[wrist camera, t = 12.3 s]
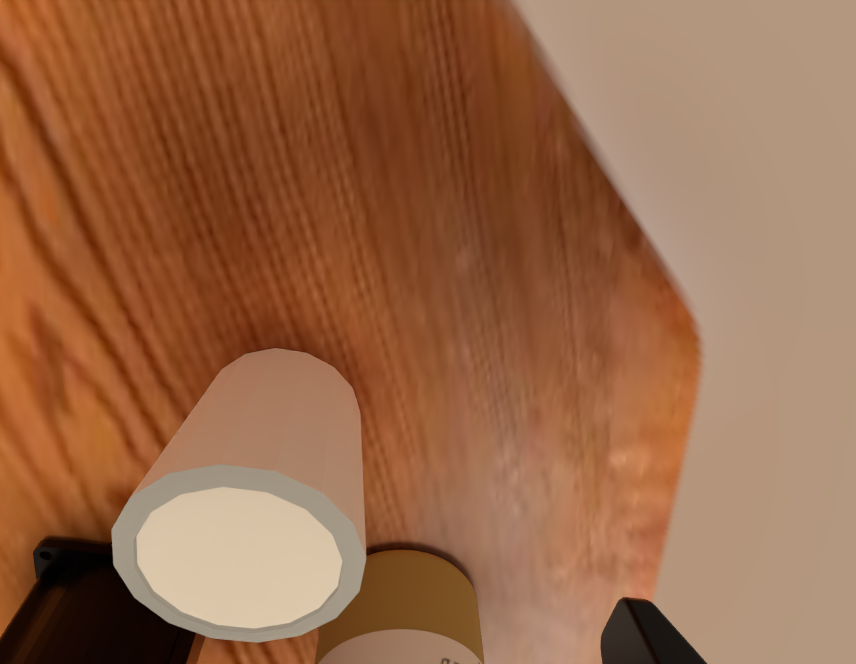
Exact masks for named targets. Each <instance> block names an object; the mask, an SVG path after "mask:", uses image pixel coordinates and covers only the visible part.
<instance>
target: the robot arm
mask: <svg viewBox="0 0 856 664" xmlns="http://www.w3.org/2000/svg"><path fill="white" fill-rule="evenodd" d="M33 556H34V564H35V571H36V579H37V581H36V583H35V584H34V586H33V587H32V589H31V590H30V592H29V593H28V595H27V597H26V598H25V600H24V601H23V603H22V604H21V606H20V608H19V609H18V611H17V612H16V614H15V615H14V617H13V619H12V620H11V622H10V623H9V625H8V626H7V628H6V630H5V631H4V633H3V634H2V636H1V637H0V664H197V661H198V658H199V655H200V651H201V648H202V645H203V642H204V638H205V636H204V635H201V634H198V633H196V632H193V631H190V630H187V629H184V628H182V627H179V626H176V625H173V624H171V623H168V622H167V621H166V620H164V619H163V618H161V617H160V616H159V615H157V614H156V613H155V612H153V611H152V610H150V609H149V608H148V607H146V606H145V605H144V604H142V603H141V602H139V601H138V600H137V599H135V598H134V597H133V595H132V593H131V592H130V590H129V589H128V587H127V586H126V584H125V582H124V581H123V579H122V578H121V576H120V575H119V573H118V571H117V570H116V568H115V567H114V565H113V549H112V546H104V545H95V544H86V543H78V542H69V541H60V540H51V539H45V540H42V541H41V542H40V543H39V544H38V545H37V547H36V548H35V550H34V552H33ZM601 656H602V663H603V664H707V663H706V662H705V661H704V659H703V658H702V657H701V656H700V655H699V654H698V653H697V652H696V650H695V649H694V648H693V647H692V646H691V645H690V644H689V643H688V642H687V640H686V639H685V638H684V637H683V636H682V635H681V634H680V633H679V632H678V631H677V629H676V628H675V627H674V626H673V625H672V624H671V623H670V621H669V620H668V619H667V618H666V617H665V616H664V615H663V614H662V613H661V611H660V610H659V609H658V608H657V607H656V606H655V605H654V604H653V603H652V602H650V601H648V600H645V599H638V598H629V597H623V598H622V599H620V600H619V601H618V602H617V604H616V606H615V608H614V610H613V612H612V614H611V616H610V618H609V620H608V622H607V624H606V626H605V628H604V630H603V633H602V636H601Z"/></svg>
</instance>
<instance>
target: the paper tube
mask: <svg viewBox="0 0 856 664" xmlns="http://www.w3.org/2000/svg"><path fill="white" fill-rule="evenodd" d="M315 664H484V656H483V648H482V639H481V630H480V622H479V613H478V605H477V599H476V595H475V592H474V589H473V587H472V585H471V583H470V582H469V580H468V579H467V578H466V577H465V576H464V575H463V574H462V573H461V572H460V571H459V570H458V569H457V568H456V567H455V566H454V565H452V564H451V563H449V562H448V561H446V560H444V559H442V558H440V557H438V556H435V555H433V554H429V553H426V552H421V551H415V550H388V551H382V552H377V553H373V554H370V555H367V556H366V563H365V567H364V572H363V577H362V582H361V587H360V591H359V593H358V594H357V595H356V596H355V597H354V598H353V599H352V601H351V602H350V603H349V604H348V605H347V606H346V607H345V609H344V610H343V611H342V612H341V613H340V614H339V615H338V617H337V618H335V619H333V620H331V621H329V622H327V623H325V624H323V625H321V626H320V630H319V638H318V645H317V652H316V659H315Z"/></svg>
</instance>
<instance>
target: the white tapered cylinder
mask: <svg viewBox="0 0 856 664" xmlns="http://www.w3.org/2000/svg"><path fill="white" fill-rule="evenodd" d="M111 532H112V549H113V565H114V567H115V568H116V570H117V571H118V573H119V575H120V576H121V578H122V579H123V581H124V582H125V584H126V586H127V587H128V589H129V590H130V592H131V593H132V595H133V597H134V598H135V599H137V600H138V601H139V602H141V603H142V604H144V605H145V606H146V607H148V608H149V609H150V610H152V611H153V612H155V613H156V614H157V615H159V616H160V617H161V618H163V619H164V620H166V621H167V622H168V623H171V624H173V625H176V626H179V627H182V628H184V629H187V630H190V631H193V632H196V633H198V634H201V635H204V636H207V637H209V638H214V639H224V640H235V641H245V642H256V643H258V642H264V641H271V640H277V639H283V638H289V637H296V636H301V635H303V634H305V633H307V632H309V631H311V630H313V629H315V628H317V627H319V626H321V625H323V624H325V623H327V622H329V621H331V620H333V619H335V618H337V617H338V615H339V614H340V613H341V612H342V611H343V610H344V609H345V607H346V606H347V605H348V604H349V603H350V602H351V601H352V599H353V598H354V597H355V596H356V595H357V594H358V593H359V591H360V587H361V582H362V577H363V572H364V567H365V563H366V538H365V513H364V489H363V464H362V439H361V415H360V409H359V406H358V403H357V400H356V397H355V393H354V390H353V388H352V387H351V385H350V384H349V383H348V382H347V381H346V380H345V379H344V378H343V376H342V375H341V374H340V373H339V372H338V371H337V370H336V369H335V367H333V366H331V365H329V364H327V363H326V362H324V361H322V360H320V359H318V358H316V357H314V356H312V355H310V354H308V353H306V352H299V351H292V350H286V349H279V348H272V349H267V350H262V351H257V352H252V353H247V354H244V355H242V356H241V357H239V358H238V359H236V360H235V361H233V362H232V363H230V364H229V365H227V366H226V367H224V368H223V369H221V371H220V372H219V374H218V375H217V376H216V378H215V379H214V381H213V382H212V383H211V385H210V386H209V387H208V389H207V390H206V392H205V393H204V394H203V396H202V397H201V399H200V400H199V401H198V403H197V404H196V406H195V407H194V408H193V410H192V411H191V413H190V414H189V415H188V417H187V418H186V420H185V421H184V422H183V424H182V425H181V427H180V428H179V429H178V431H177V432H176V434H175V435H174V436H173V438H172V439H171V441H170V442H169V443H168V445H167V446H166V448H165V449H164V450H163V452H162V453H161V455H160V456H159V457H158V459H157V460H156V462H155V463H154V464H153V466H152V467H151V469H150V470H149V471H148V473H147V474H146V476H145V477H144V478H143V480H142V481H141V483H140V484H139V485H138V487H137V488H136V490H135V491H134V492H133V494H132V495H131V497H130V498H129V500H128V502H127V503H126V505H125V507H124V509H123V510H122V512H121V514H120V516H119V517H118V519H117V521H116V522H115V524H114V526H113V528H112V529H111Z"/></svg>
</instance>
